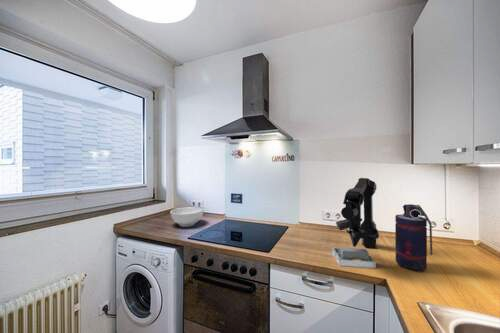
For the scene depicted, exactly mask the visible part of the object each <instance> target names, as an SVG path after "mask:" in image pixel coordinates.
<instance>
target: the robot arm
mask: <svg viewBox="0 0 500 333" xmlns="http://www.w3.org/2000/svg"><path fill="white" fill-rule="evenodd" d="M376 190H377V183H376V182H375V181H374V180H371V179H370V178H367V177H360V178H358V181H357V182H356V184H355V185H354V187H352V188H349V189H348V190H347V191H346V192H345V195H344V199H343V202H342V204H343V205H345V206H344V207H343V208H342V209H341V212H340V213H341V216H342V217H343V218H344V219H341V220H338V221H336V222H335V224H336V227H337V229H338V230H339V231H344V230H345V229H346V230H345V231H346V232H347V234H349V236H350V240H351V241H350V242H351V244H352V246H353V247H355V248H356V246H357V245H358V243H359V242H360V240H361V244H362V245H361V246H363V247H364V248H365V249H378V247H377V239H380V235H379V231H378V228H377V224H376V222H375V221H374V217H373V216H374V214H373V213H374V212H373V207H374V206H373V196H374V195H375V193H376ZM362 205H363V218H362V216H361V215H362V211H361V210H362Z"/></svg>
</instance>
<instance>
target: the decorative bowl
mask: <svg viewBox="0 0 500 333" xmlns="http://www.w3.org/2000/svg"><path fill="white" fill-rule="evenodd" d="M204 211H205V209H204V208H203V207H198V206H197V207H196V206H186V207H178V208H174V209H172V210H170V211H169V212H170V217H171V218H172V220H173V221H174V223H176V224H178V225H179V226H180V227H182V228H188V227H189V228H190V227H193V226H195V225H196V223H198V222H199V221H200V220H201V219H202V216H203V214H204Z"/></svg>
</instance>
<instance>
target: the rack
mask: <svg viewBox="0 0 500 333" xmlns="http://www.w3.org/2000/svg"><path fill="white" fill-rule="evenodd" d="M340 248H341V247H331V252H330V253H331V255H332V256H333V258H334V259H335V260H336V263H337V264H338V266H340V267H353V268H366V269H376V268H377V262H376V261H375V260H374V259H373V258H372V257H371V256H370V255H369V261H363V260H360V259H353V260H348V259H341V258H340Z"/></svg>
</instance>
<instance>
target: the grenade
mask: <svg viewBox="0 0 500 333" xmlns="http://www.w3.org/2000/svg"><path fill="white" fill-rule="evenodd" d="M402 208H403V214H396V215H395V218H394V220H395V221H394V222H395V225H394V226H395V232H394V234H395V239H394V240H395V247H394V248H395V262H396V263H397V265H398V266H399V267H401V268H403V267H405V268H408V269H410V270H415V271H416V272H418V273H422V272H423V270H427V266H428V263H427V262H428V261H427V260H428V258H427V257H428V249H427V248H428V242H427V241H428V232H427V231H428V229H427V227H428V224H429V227H428V228H429V249H430V250H429V251H430V256H432V255H433V230H432V228H433V227H432V222H431V220H430V218H429V217H428V215H427V214H426V212H425V211H424V209H423V208H422V207H421V205H419V204H412V203H411V204H404V205H402Z"/></svg>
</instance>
